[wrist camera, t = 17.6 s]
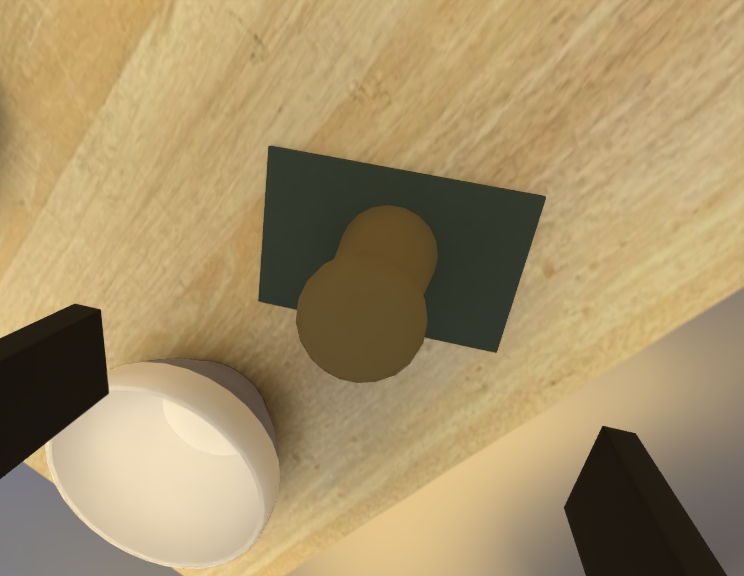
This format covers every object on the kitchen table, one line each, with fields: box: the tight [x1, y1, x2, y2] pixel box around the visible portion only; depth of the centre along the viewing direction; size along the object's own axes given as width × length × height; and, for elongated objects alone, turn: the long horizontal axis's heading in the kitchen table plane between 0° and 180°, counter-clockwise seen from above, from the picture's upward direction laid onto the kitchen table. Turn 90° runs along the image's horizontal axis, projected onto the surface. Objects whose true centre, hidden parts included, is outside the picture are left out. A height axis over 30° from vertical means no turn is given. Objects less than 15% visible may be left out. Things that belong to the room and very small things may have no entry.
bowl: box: [45, 358, 280, 569], centre depth 28 cm, size 14×14×8 cm
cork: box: [296, 205, 438, 383], centre depth 20 cm, size 6×6×11 cm
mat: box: [258, 146, 546, 353], centre depth 25 cm, size 16×10×1 cm, turn 81°
